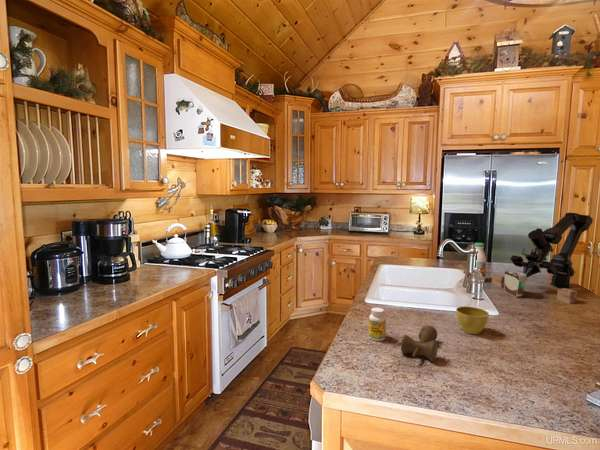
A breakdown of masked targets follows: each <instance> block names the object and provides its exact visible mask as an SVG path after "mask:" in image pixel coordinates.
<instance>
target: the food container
mask: <svg viewBox="0 0 600 450" xmlns="http://www.w3.org/2000/svg"><path fill="white" fill-rule="evenodd" d="M503 275H504V288H503V290H504V291H503V292H504V293H506V294H508V295H510V296H512V297H514V298H515V299H520V298H523V297H524V296H523V295H524V291H525V286H526V282H527V281H528V277H527V276H526V274H524V273H523V272H519V271H514V270H504V272H503Z"/></svg>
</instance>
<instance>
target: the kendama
mask: <svg viewBox="0 0 600 450" xmlns="http://www.w3.org/2000/svg"><path fill="white" fill-rule="evenodd" d="M418 339H419V341H417V340H416V339H413V338H411V337H410V336H409V335H407V334H404V335H403V337H402V339H401V343H400V352H401V354H403V355H408V354H412V357H415V356H416V355H417V354H419V355H423V356H424V357H426V358H427V359H428V360H430V362H432V363H434V362H435V361H436V359H437V355H438V341H437V340H436V339H438V331H437V329H436V328H435V327H434V326H431V325H424V326H422V327H421V330H420V332H419V333H418Z"/></svg>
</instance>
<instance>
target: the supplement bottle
mask: <svg viewBox="0 0 600 450" xmlns="http://www.w3.org/2000/svg"><path fill="white" fill-rule="evenodd" d="M370 311H371V312H370V313H371V314H370V315H368V337H369V339H370V340H373V341H376V342H380V341H384V340H385V339H386V329H387V318H386V316H385V310H384V308H381V307H372V308H371V310H370Z"/></svg>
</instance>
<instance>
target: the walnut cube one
mask: <svg viewBox="0 0 600 450" xmlns="http://www.w3.org/2000/svg"><path fill="white" fill-rule="evenodd" d="M491 286H496V287H499V288H503V287H504V274H499V273H498V274H492V277H491Z"/></svg>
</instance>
